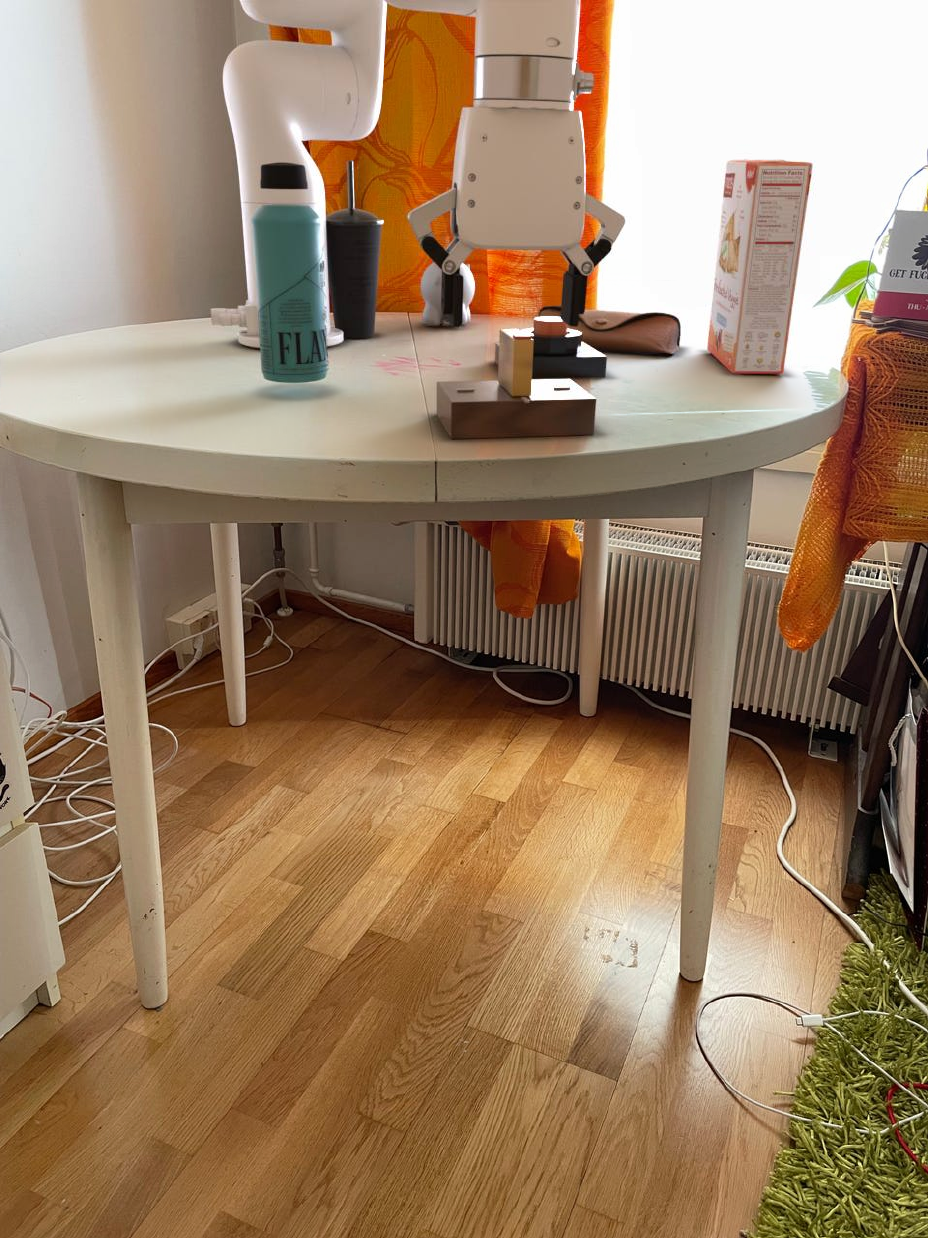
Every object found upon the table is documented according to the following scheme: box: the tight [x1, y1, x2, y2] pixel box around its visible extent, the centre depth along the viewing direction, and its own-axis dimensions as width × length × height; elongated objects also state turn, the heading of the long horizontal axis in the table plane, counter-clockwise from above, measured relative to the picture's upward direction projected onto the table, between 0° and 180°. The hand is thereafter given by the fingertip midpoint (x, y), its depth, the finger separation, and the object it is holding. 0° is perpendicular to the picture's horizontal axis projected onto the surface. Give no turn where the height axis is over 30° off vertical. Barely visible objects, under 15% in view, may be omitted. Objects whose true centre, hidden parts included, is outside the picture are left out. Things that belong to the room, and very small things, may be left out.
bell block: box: [494, 327, 608, 380], centre depth 105 cm, size 10×9×4 cm
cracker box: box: [706, 158, 814, 375], centre depth 107 cm, size 14×6×21 cm, turn 178°
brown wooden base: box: [436, 378, 597, 440], centre depth 84 cm, size 12×10×3 cm
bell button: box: [533, 316, 568, 336], centre depth 104 cm, size 4×4×2 cm
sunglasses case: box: [537, 305, 682, 355], centre depth 119 cm, size 18×7×7 cm
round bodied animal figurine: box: [420, 261, 476, 327], centre depth 134 cm, size 7×12×8 cm, turn 165°
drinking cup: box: [326, 160, 385, 340], centre depth 120 cm, size 8×8×20 cm
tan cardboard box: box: [497, 328, 534, 396], centre depth 82 cm, size 6×2×5 cm, turn 11°
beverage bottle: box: [251, 162, 330, 384], centre depth 91 cm, size 6×7×20 cm
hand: (512, 323), depth 81 cm, fingers open, 9 cm apart
